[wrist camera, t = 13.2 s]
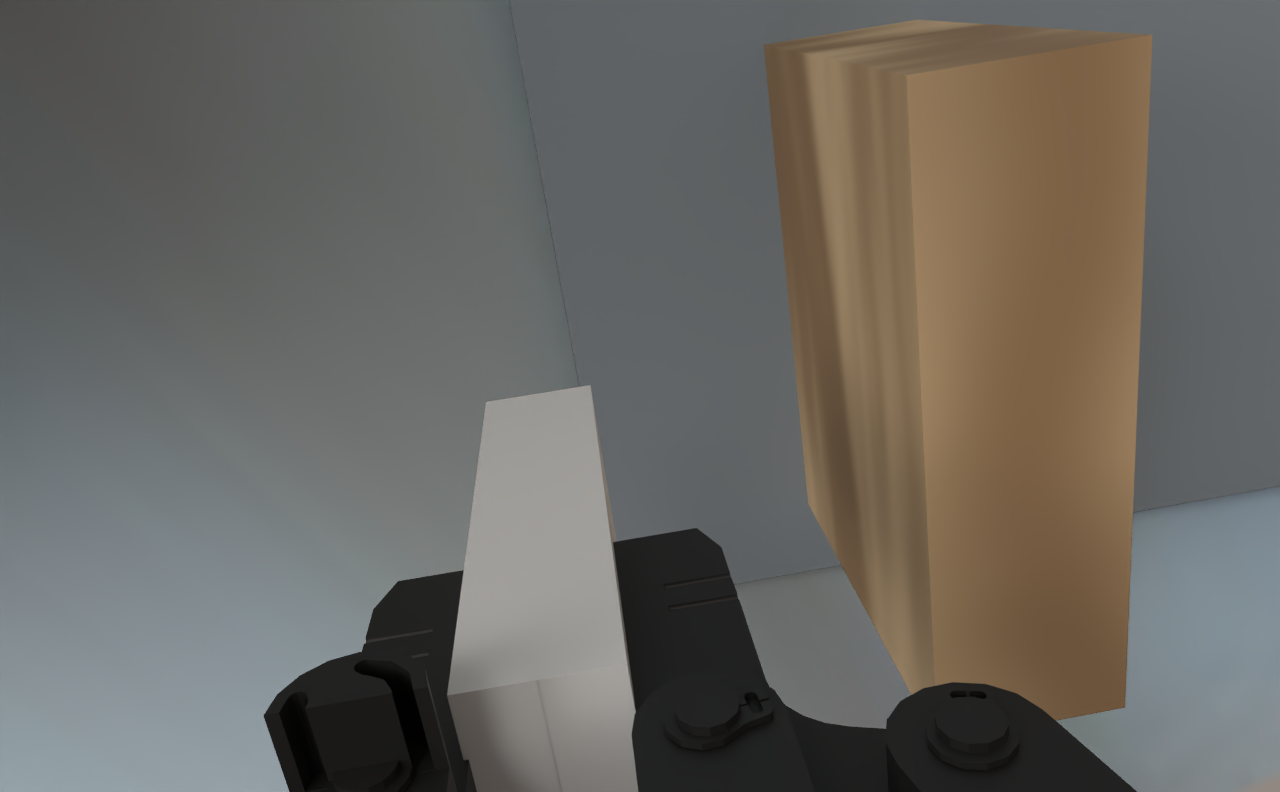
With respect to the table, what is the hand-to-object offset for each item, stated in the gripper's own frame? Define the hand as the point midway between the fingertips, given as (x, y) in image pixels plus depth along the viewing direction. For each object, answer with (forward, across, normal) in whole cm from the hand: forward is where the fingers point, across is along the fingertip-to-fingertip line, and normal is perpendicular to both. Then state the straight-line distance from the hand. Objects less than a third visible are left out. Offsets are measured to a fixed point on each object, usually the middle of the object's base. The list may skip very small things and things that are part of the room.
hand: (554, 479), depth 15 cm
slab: (+7, +6, 0) cm, 9 cm away
